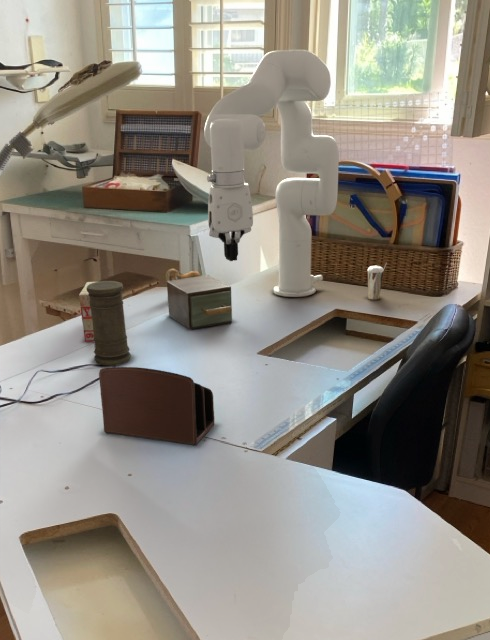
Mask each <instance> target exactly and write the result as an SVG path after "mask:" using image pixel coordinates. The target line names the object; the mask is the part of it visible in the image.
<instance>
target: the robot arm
mask: <svg viewBox="0 0 490 640" xmlns="http://www.w3.org/2000/svg"><path fill="white" fill-rule="evenodd" d="M331 87H332V74H331V71H330V69H329V66H328V65H327V64H326V63H325V62H324V61H323V60H322V59H321V58H320V57H319V56H318V55H317V54H315V53H313V52H312V51H310V50H307V49H282V50H281V49H280V50H279V49H277V50H271V51H269V52H267V53H266V54H264V55H263V57H262V58H261V59H260V60H259V63H258V64H257V66H256V68H255V69H254V71H253V72H252V74H251V76H250V78H249V79H248V82H247V83H245V84H244V85H241V86H240V87H238V88H236V89H234V90H233V91H231V92H229V93H227V94H226V95H224V96H223V97H221V98H220V99H219V100H218V101H217V102H216V103H215V104H214V106H213V107H212V109H211V111H210V113H209V114H208V115H207V118H206V121H205V124H204V129H203V130H204V131H203V133H204V134H203V136H204V140H205V143H206V144H207V146H208V147H210V155H211V156H210V157H211V158H210V159H211V172H210V174H209V175H207V176H206V181H207V183H211V184H212V185H210V187H209V193H208V202H207V222H208V228H209V233H208V235H209V236H210V237H211V238H216V239H219V240H220V241H221V242H222V243H223V252H224V254H223V255H224V258H225V259H226V260H227V261H229V262H233V261H234V262H235V261H238V257H239V243H240V241H241V240H242V237H243V236H244V235H245V234H248V233H250V232H252V227H253V225H254V212H253V201H252V196H251V195H252V194H251V191H250V186H249V183H248V182H245V176H246V175H245V151H255V150H257V149H258V148H260V147H261V146H262V145H263V143H264V141H265V139H266V134H267V132H266V131H267V130H266V123H265V122H264V120H263V119H262V118H261V117H263V116H265V115H268V114H270V113H271V112H272V111H274V110H275V108H277V110H278V115H279V118H280V162H281V163H280V164H281V166H282V167H281V168H282V169H283V170H284V172H287V173H292V174H313V175H314V174H316V175H317V176H318V178H309V177H289V178H286V179H283V180H281V181H280V182H279V183H278V184H277V186H276V188H275V194H274V195H275V196H274V197H275V204H276V210H277V211H276V212H277V218H278V285H275V286H274V287H273V293H274V294H275V295H276V296H280V297H285V298H301V297H303V298H304V297H308V296H311V295H314V294H315V293H316V286H314V285H315V283H319V282H322V281H323V279H324V277H323V275H322V274H317V275H313V274H312V235H313V234H312V233H313V232H312V231H313V230H312V228H311V227H312V226H311V224H310V222H309V221H308V218H306V216H320V217H321V216H322V217H324V216H325V217H327V216H330V215H332V214H333V213H334V212H335V210H336V208H337V203H338V191H339V190H338V189H339V166H340V165H339V164H340V163H339V161H340V159H339V158H340V151H339V146H338V142H337V140H336V139H335V138H334V137H333V136H330V135H325V134H324V135H323V134H320V135H319V134H315V135H314V133H313V114H312V111H311V108H310V106H309V104H308V103H307V102H320V101H323V100H325V99H326V98H327V97H328V95H329V94H330V91H331Z"/></svg>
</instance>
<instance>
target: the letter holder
mask: <svg viewBox="0 0 490 640" xmlns="http://www.w3.org/2000/svg"><path fill="white" fill-rule="evenodd" d="M98 379H99V389H100V399H101V401H100V402H101V410H102V419H103V420H102V421H103V432H104V433H105V434H113V435H119V436H127V437H134V438H142V439H148V440H155V441H162V442H170V443H177V444H184V445H191V446H197V445H198V443H200V441H201V440H202V439H203V438H204V437H205V436H206V435H207V434H208V433H209V432H210V430H212V428H214V426H215V407H214V392H213V391H212V390H211V389H210V388H209V387H206V386H203V385H201V384H200V383H197V382H195V381H194V380H193V378H191V377H189V376H187V375H183V374H179V373H175V372H172V371H165V370H160V369H155V368H148V367H136V366H134V367H133V366H111V367H103V368H101V369H100V370H99V371H98Z"/></svg>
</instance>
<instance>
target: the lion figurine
mask: <svg viewBox="0 0 490 640" xmlns="http://www.w3.org/2000/svg"><path fill="white" fill-rule="evenodd" d="M199 276H202V275H201V274H200V272H199V271H197V270H192V271H189V272H187V273H182V272H180V271H179V270H177V269H176V268H173V267H172V268H170V269H168V270H167V271H166V272H165V280H166V282H167V281H172V280H179V279H186V278H193V277H199Z"/></svg>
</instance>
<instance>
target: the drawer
mask: <svg viewBox="0 0 490 640" xmlns="http://www.w3.org/2000/svg"><path fill="white" fill-rule="evenodd" d="M231 302H232V290H231V291H229V290H228V291H225V290H224V291H218V292H212V293H205V294H203V295H197V296H195V295H193V296H190V305H191V324H192V326H193V327H197V326H202V325H208V324H214V323H220V322H225V321H231V320H232V321H233V307H231Z"/></svg>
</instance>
